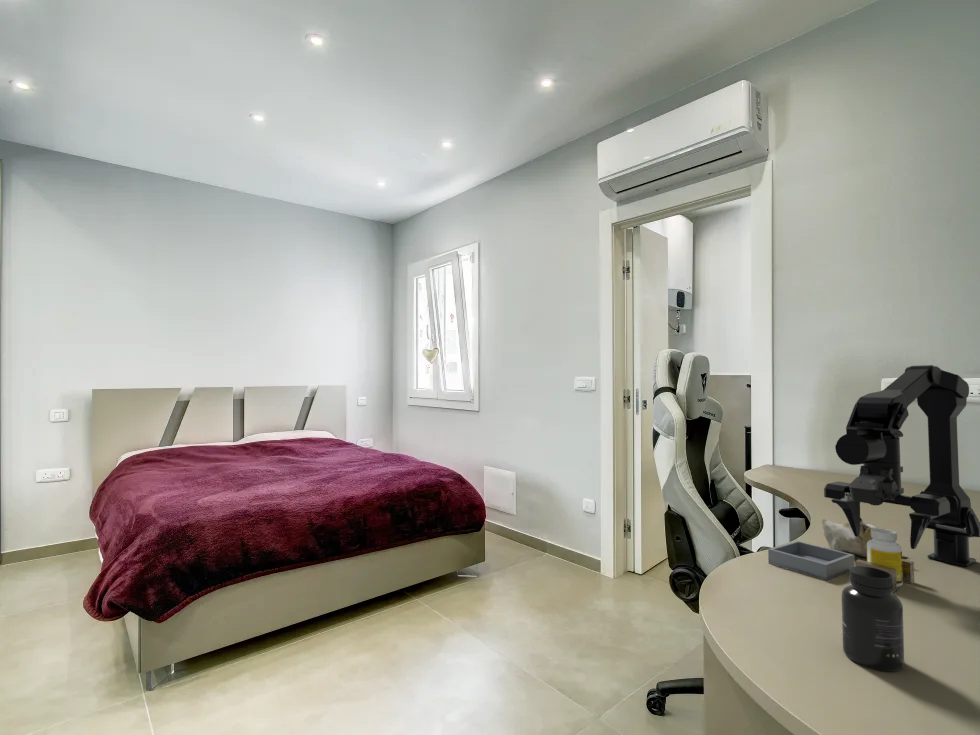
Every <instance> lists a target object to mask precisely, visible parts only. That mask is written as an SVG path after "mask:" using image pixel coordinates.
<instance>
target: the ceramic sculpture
mask: <svg viewBox="0 0 980 735" xmlns="http://www.w3.org/2000/svg"><path fill="white" fill-rule="evenodd" d="M821 523H822V524H821V525H822V530H823V536H824V537H825V539H826V541H827V543H828V544H827V545H828V547H829V549H833V550H837V551H841V552H847V553H848V552H849V553H851V554H853V555H856V556H859V557H863V558H867V542H868V541H869V540H872V537H871V529H874V528H879V527H877V526H876V525H874V524H868V523H864V520H863V519H862V517H860V535H859V536H858V537H856V536H855V535H854V533H853V531H852V528H851V526H850V524H849V521H848V520H847V521H846V522H845V523H843V524H842V523H836V522H834V521H831V520H827V519H825V518H822V520H821ZM902 559H906V560H909V559H908V557H907V556H905V555H902Z"/></svg>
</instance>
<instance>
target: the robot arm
mask: <svg viewBox="0 0 980 735" xmlns="http://www.w3.org/2000/svg"><path fill="white" fill-rule="evenodd" d="M969 386H970V385H969V384H968V382H967V381H966V380H964V378H962V377H961V376H960V375H958V374H955V373H952V372H949V371H946V370H943V369H941V368H940V367H939V366H937V365H933V364H929V365H927V364H926V365H925V364H923V365H911V366H907V367H906V368H905V369H904V372H903V373H902V374H901V375H900V376H898V377H897V378H896V379H895V380H894V381H893V382H891V383H890V384H889V385H888V386H886V387H885V388H884V389H882V390H879V391H876V392H870V393H867V394H864V395H862V396H860V397H859V398H858V399H857V400H856V402H855V404H854V406H853V409H852V411H851V414H850V416H849V419H848V421H847V423H846V425H845V426H846V427H845V430H846V433H845V434H843V435H842V436H840V437H839V438H838V440H837V442H836V444H835V446H834V447H835V448H834V449H835V453H836V455H837V456H838V458H839V459H840V460H841V461H842V462H844V463H845V464H848V465H853V466H858V465H860V468H859V475H858V476H857V477H855V478H854V479H853V480H852V481H851V482H845V481H834V482H828V483H826V484H825V485H824V488H823V497H824V498H827V499H831V500H830V501H831V502H832V503H834V504H836V505H837V506H839V508H840V509H842V511H843V513H844V515H845V517H846V519H847V521H849V524H850V526H851V528H852V531H853V533H854V535H855V536H856V537H858V536H859V535H860V518H861V503H863V504H868V505H871V506H880V505H883V503H886V504H892V505H893V504H894V505H900V506H905V507H910V509H911V510H913V511H914V512H911V513H908V515H909V518H910V522H911V523H910V536H909V537H910V538H909V543H910V549H912V550H915V549H916V548H917V547H918V544H919V543H920V540H921V538H922V536H923V534H924V532H925V530H926V529H928V530H929V529H930V530H932V532H933V553H930V554H928V555H927V558H928V559H931V560H936V561H939V562H945V563H948V564H952V565H958V566H962V567H968V566H970V565H972V564H973V563H976V562H977V559H976V558H973V557H970V538H980V520H979V518H978V517H977V514H976V513H975V511H974V509H973V508H972V505H971V504H972V503H971V499H970V496H969V495H968V494H967V493H966V492H965V491H964V489H963V488H962V486H961V485H960V471H959V470H960V469H959V468H960V467H959V465H960V464H959V446H958V445H959V444H958V442H959V441H958V418H957V417H959V415H961V414H960V413H961V412H963V411H964V409H965V408H966V407H967V399H968V397H969V395H970V387H969ZM915 400H916V402H917V406H918V407H919V408H920V410H921V411H922V413H924V414H925V416H926V418H927V435H928V436H927V438H928V458H929V459H928V462H929V463H928V464H929V484H928V486H926V487H925V489H924V490H921V491H920V493H919V494H914V495H912V496H911V495H910V496H909V495H903V494H904V493H905V489H904V487H902V474H901V473H904V466H901V447H900V446H901V445H900V444H901V443H900V440H901V439H900V438H903V437H904V433H903V432H902V431H901V428H902V426H903V424H904V423H905V421H906V420H907V418H908V417H909V415H910V413H909V410H908V407H909V406H911V404H912V403H913V402H914V401H915Z"/></svg>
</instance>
